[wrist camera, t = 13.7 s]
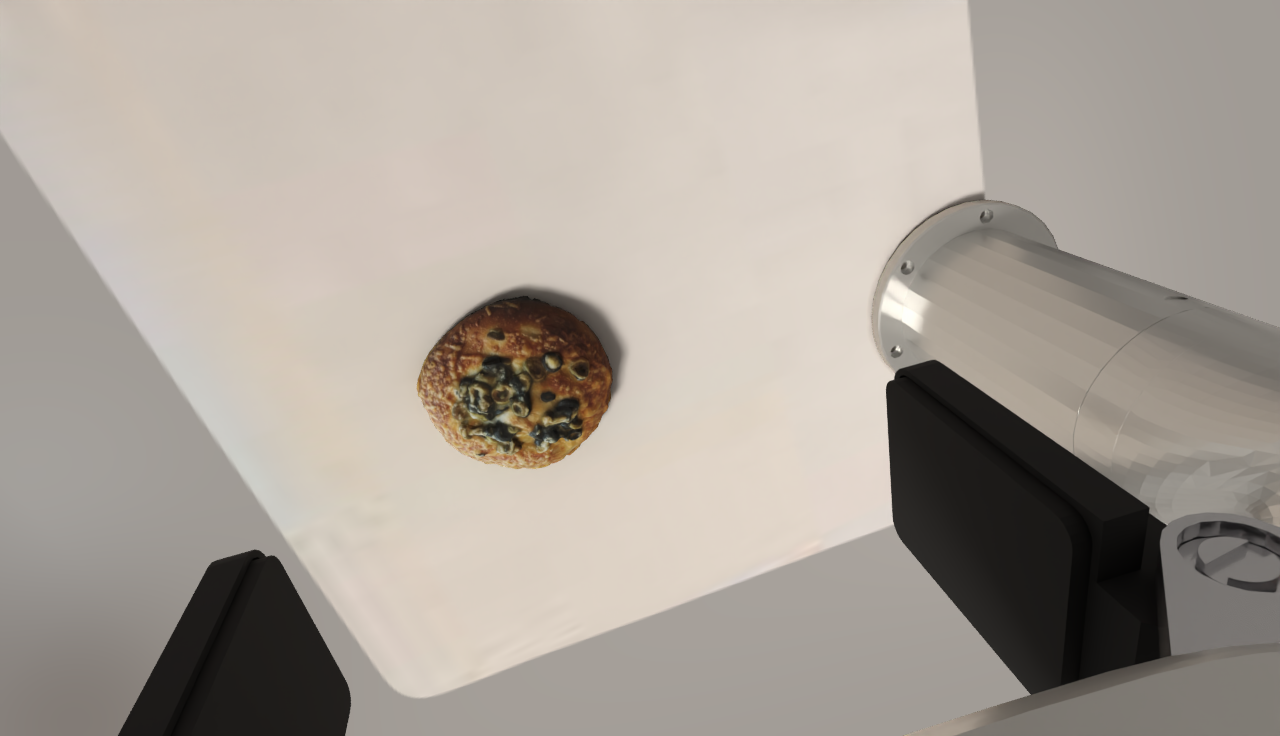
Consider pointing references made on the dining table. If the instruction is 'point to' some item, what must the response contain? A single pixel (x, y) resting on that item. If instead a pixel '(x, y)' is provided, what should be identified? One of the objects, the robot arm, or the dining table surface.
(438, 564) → the dining table surface
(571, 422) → the bread roll
